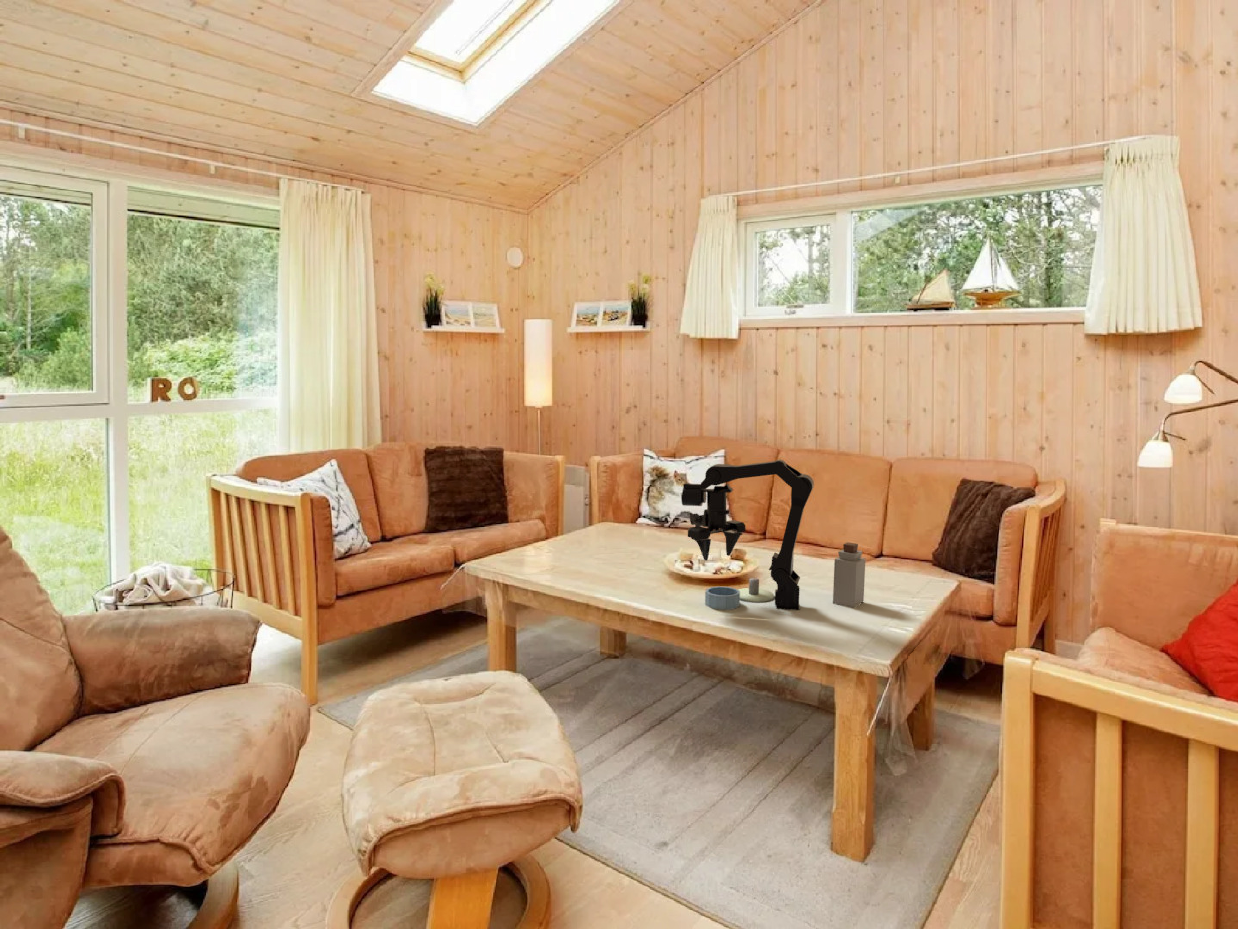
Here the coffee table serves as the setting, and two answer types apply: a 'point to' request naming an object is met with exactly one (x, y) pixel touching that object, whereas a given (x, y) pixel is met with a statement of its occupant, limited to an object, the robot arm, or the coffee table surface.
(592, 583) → the coffee table surface
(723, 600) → the bowl
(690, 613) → the coffee table surface
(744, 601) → the mat
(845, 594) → the perfume bottle
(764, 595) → the lid
